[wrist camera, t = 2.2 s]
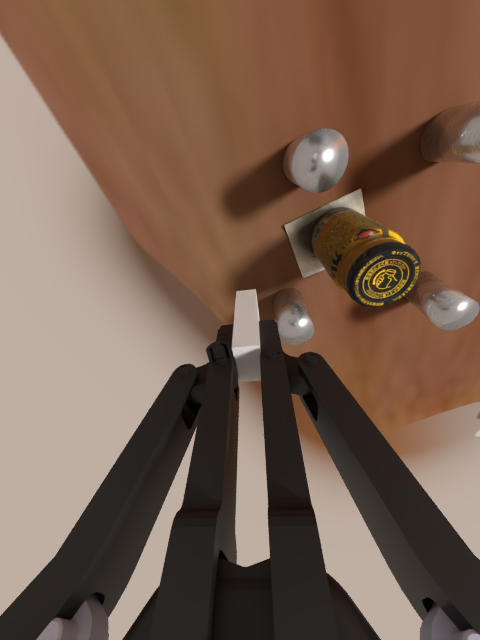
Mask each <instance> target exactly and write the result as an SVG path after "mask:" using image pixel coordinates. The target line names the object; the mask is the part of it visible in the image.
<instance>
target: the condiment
mask: <svg viewBox="0 0 480 640" xmlns="http://www.w3.org/2000/svg"><path fill="white" fill-rule="evenodd" d="M313 222H314V224H313ZM284 226H285V229H286V232H287V235H288V238H289V240H290V243H291V246H292V249H293V251H294V254H295V257H296V260H297V262H298V265H299V268H300V271H301V274H302V276H303V278H304V277H307V276H310V275H312V274H314V273H317V272H320V271H321V270H324V269H326V270H327V272H328V273H329V275H330V277H331V278H332V279H333V280H334V282H335V283H336V285H337V286H338V287H339V288H340V289H341V290H343V291H345V292H347V293H348V294H349V295H350V296H351V298H352V299H353V300H354V301H356V302H357V303H359V304H361V305H362V306H369V307H380V306H384V305H388V304H390V303H393V302H395V301H398V300H399V299H400V298H402V297H403V296H404V295H406V294H407V293H408V292H410V291H411V289H412V288H413V287H414V285H415V284H416V282H417V280H418V278H419V275H420V265H421V261H420V258H419V256H418V255H417V253H416V252H415V250H414V249H412V248H411V247H410V246H408V245H406V244H405V243H404V241H403V239H402V238H401V236H400V235H398V234H397V233H396V232H395V231H392V230H391V229H390V228H388V227H386V226H385V225H381V224H380V223H379V222H376V221H375V220H372V219H371V218H368V217H367V216H365V211H364V204H363V197H362V191H361V188H360V189H358V190H356V191H354V192H352V193H350V194H348V195H346V196H343V197H341V198H340V199H337V200H335V201H333V202H331V203H329V204H327V205H325V206H323V207H321V208H319V209H317V210H315V211H313V212H311V213H308V214H306V215H304V216H302V217H300V218H298V219H296V220H294V221H292V222H290V223H288V224H286V225H284ZM312 256H315V257H312ZM316 256H317V257H318V258H316Z"/></svg>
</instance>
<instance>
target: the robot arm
mask: <svg viewBox="0 0 480 640" xmlns="http://www.w3.org/2000/svg"><path fill="white" fill-rule="evenodd" d="M216 340H217V341H216V342H214V343H212V344H210V345H209V346H208V347H207V349H206V351H207V355H208V358H209V363H207V364H206V365H203V366H200V367H197V368H196V367H195V366H193V365H191V364H184V365H181V366H179V367H178V368H177V369H176V370H175V371H174V372H173V374H172V375H171V377H170V378H169V380H168V381H167V383H166V384H165V386H164V388H163V389H162V391H161V392H160V394H159V395H158V397H157V399H156V400H155V402H154V403H153V405H152V406H151V408H150V409H149V411H148V412H147V414H146V416H145V417H144V419H143V420H142V422H141V424H140V425H139V426H138V428H137V430H136V431H135V433H134V434H133V436H132V437H131V439H130V440H129V442H128V444H127V445H126V447H125V448H124V450H123V451H122V453H121V454H120V456H119V458H118V459H117V461H116V463H115V464H114V465H113V467H112V469H111V470H110V472H109V473H108V475H107V476H106V478H105V479H104V481H103V483H102V484H101V486H100V487H99V489H98V490H97V492H96V493H95V495H94V496H93V498H92V500H91V501H90V503H89V504H88V506H87V507H86V509H85V511H84V512H83V514H82V515H81V517H80V518H79V520H78V521H77V523H76V524H75V526H74V528H73V529H72V531H71V533H70V534H69V535H68V537H67V539H66V540H65V542H64V543H63V545H62V546H61V548H60V549H59V551H58V553H57V554H56V556H55V557H54V558H53V559H52V560H51V561H50V562H49V563H48V565H47V566H46V567H45V568H44V569H43V570H42V571H41V572H40V574H38V576H37V577H36V578H35V579H34V580H33V581H32V582H31V583H30V584H29V586H27V587H26V589H25V590H24V591H23V592H22V593H21V594H20V595H19V596H18V597H17V598H16V599H15V601H14V602H13V603H12V604H11V605H10V606H9V607H8V608H7V609H6V610H5V612H4V613H3V614H2V615H1V616H0V640H108V637H109V634H108V617H109V616H110V614H111V612H112V611H113V609H114V608H115V606H116V604H117V603H118V600H119V599H120V597H121V595H122V594H123V592H124V590H125V588H126V586H127V584H128V582H129V580H130V578H131V576H132V574H133V572H134V569H135V567H136V565H137V563H138V561H139V558H140V556H141V553H142V551H143V549H144V547H145V545H146V542H147V540H148V538H149V535H150V533H151V531H152V528H153V526H154V524H155V521H156V519H157V517H158V515H159V512H160V510H161V508H162V505H163V503H164V501H165V498H166V496H167V494H168V491H169V489H170V487H171V485H172V482H173V480H174V478H175V475H176V473H177V471H178V468H179V466H180V464H181V461H182V459H183V457H184V454H185V452H186V450H187V447H188V445H189V443H190V441H191V438H192V436H193V434H194V431H195V429H196V427H197V430H196V435H195V441H194V446H193V452H192V457H191V462H190V468H189V473H188V478H187V484H186V489H185V494H184V500H183V504H182V507H181V509H180V510H179V511H178V512H177V513H176V515H175V518H174V520H173V524H172V528H171V533H170V538H169V542H168V548H167V552H166V557H165V563H164V567H163V572H162V577H161V582H160V586H159V587H158V588H157V589H156V591H155V592H154V594H153V595H152V597H151V598H150V599H149V601H148V602H147V604H146V605H145V607H144V608H143V610H142V611H141V613H140V614H139V616H138V617H137V619H136V620H135V622H134V623H133V625H132V626H131V628H130V629H129V631H128V632H127V634H126V635H125V637H124V638H123V640H381V639H380V638H379V637H378V635H377V634H376V632H375V631H374V630H373V628H372V627H371V626H370V624H369V623H368V621H367V620H366V618H365V617H364V616H363V614H362V613H361V611H360V610H359V609H358V607H357V606H356V604H355V603H354V602H353V601H352V599H351V597H350V596H349V595H348V594H347V592H346V591H345V590H344V589H343V588H342V587H341V585H340V584H339V583H338V582H337V581H336V580H335V579H334V578H333V577H331V576H330V575H329V574H327V573H326V570H325V564H324V559H323V554H322V549H321V543H320V538H319V533H318V528H317V522H316V518H315V513H314V510H313V507H312V504H311V500H310V494H309V489H308V484H307V478H306V473H305V467H304V462H303V456H302V451H301V445H300V440H299V434H298V429H297V424H296V418H295V413H294V408H293V402H292V397H291V393H293V394H297V395H299V397H300V399H301V401H302V403H303V405H304V407H305V408H306V410H307V412H308V414H309V416H310V418H311V420H312V422H313V424H314V426H315V427H316V429H317V431H318V433H319V435H320V437H321V439H322V441H323V443H324V445H325V446H326V448H327V450H328V452H329V454H330V456H331V458H332V460H333V462H334V464H335V465H336V468H337V469H338V471H339V473H340V475H341V477H342V479H343V481H344V483H345V485H346V486H347V488H348V490H349V492H350V494H351V496H352V498H353V500H354V502H355V504H356V506H357V507H358V509H359V511H360V513H361V515H362V517H363V519H364V521H365V523H366V525H367V527H368V528H369V530H370V532H371V534H372V536H373V538H374V540H375V542H376V544H377V546H378V547H379V549H380V551H381V553H382V555H383V557H384V559H385V561H386V563H387V565H388V566H389V568H390V570H391V572H392V573H393V575H394V577H395V579H396V580H397V582H398V584H399V585H400V587H401V589H402V591H403V592H404V594H405V595H406V597H407V598H408V600H409V601H410V603H411V604H412V606H413V607H414V609H415V610H416V612H417V613H418V615H419V616H420V617H421V619H422V620H423V622H422V625H421V628H420V640H480V560H479V559H478V558H477V557H476V556H475V555H474V554H473V553H472V552H471V550H470V549H469V548H468V546H467V545H466V544H465V543H464V541H463V540H462V539H461V537H460V536H459V535H458V534H457V532H456V531H455V529H454V528H453V527H452V525H451V524H450V523H449V522H448V520H447V519H446V518H445V516H444V515H443V514H442V512H441V511H440V510H439V509H438V508H437V506H436V505H435V503H434V502H433V501H432V499H431V498H430V497H429V496H428V494H427V493H426V492H425V491H424V489H423V488H422V486H421V485H420V484H419V482H418V481H417V480H416V478H415V477H414V476H413V475H412V473H411V472H410V471H409V469H408V468H407V467H406V465H405V464H404V463H403V461H402V460H401V459H400V458H399V456H398V455H397V454H396V452H395V451H394V450H393V448H392V447H391V446H390V445H389V443H388V442H387V441H386V439H385V438H384V437H383V435H382V434H381V433H380V431H379V430H378V429H377V427H376V426H375V425H374V424H373V422H372V421H371V420H370V418H369V417H368V416H367V414H366V413H365V412H364V410H363V409H362V408H361V407H360V405H359V404H358V403H357V401H356V400H355V399H354V397H353V396H352V395H351V394H350V392H349V391H348V390H347V388H346V387H345V386H344V384H343V383H342V382H341V380H340V379H339V378H338V377H337V375H336V374H335V373H334V371H333V370H332V369H331V367H330V366H329V365H328V363H327V362H326V361H325V360H324V358H323V357H322V356H321V355H319V354H317V353H313V352H307V353H304V354H301V355H300V356H299V358H298V357H292V356H289V355H287V354H285V353H284V352H283V350H282V347H281V341H280V336H279V331H278V325H277V323H276V322H275V321H274V320H264V321H260V318H259V310H258V302H257V294H256V289H251V290H243V291H236V303H235V315H234V324H232V325H223V326H221V327H220V329H219V330H218V334H217V339H216ZM238 378H239V382H245V381H259V380H261V387H262V405H263V422H264V438H265V454H266V473H267V489H268V527H269V544H270V558H269V559H267V560H264V561H262V562H259V563H257V564H254V565H251V566H249V567H242V566H239V565H237V564H236V560H237V555H236V553H237V551H236V538H235V511H236V480H237V478H236V477H237V449H238V448H237V447H238V417H239V416H238V415H239V414H238V413H239V386H238Z"/></svg>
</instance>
